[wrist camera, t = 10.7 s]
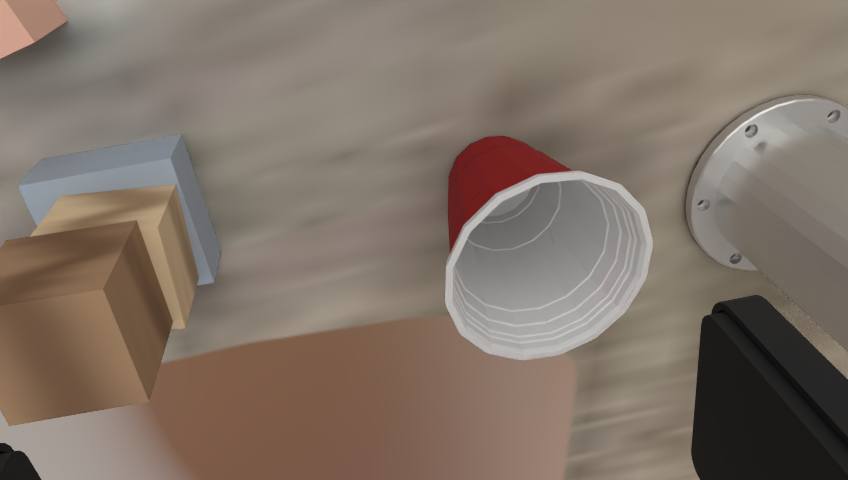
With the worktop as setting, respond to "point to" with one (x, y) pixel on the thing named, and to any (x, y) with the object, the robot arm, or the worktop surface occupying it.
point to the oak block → (158, 228)
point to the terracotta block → (26, 22)
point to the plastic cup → (538, 251)
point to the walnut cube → (79, 322)
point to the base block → (129, 186)
